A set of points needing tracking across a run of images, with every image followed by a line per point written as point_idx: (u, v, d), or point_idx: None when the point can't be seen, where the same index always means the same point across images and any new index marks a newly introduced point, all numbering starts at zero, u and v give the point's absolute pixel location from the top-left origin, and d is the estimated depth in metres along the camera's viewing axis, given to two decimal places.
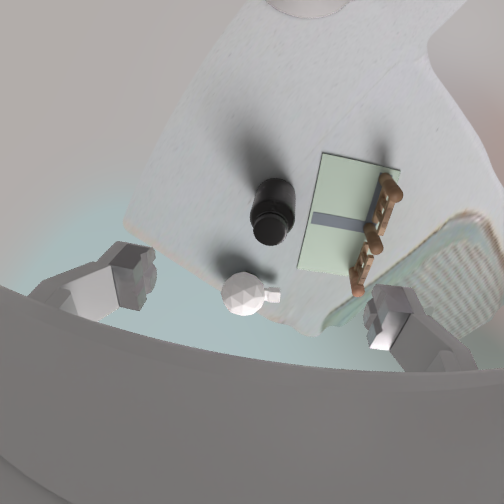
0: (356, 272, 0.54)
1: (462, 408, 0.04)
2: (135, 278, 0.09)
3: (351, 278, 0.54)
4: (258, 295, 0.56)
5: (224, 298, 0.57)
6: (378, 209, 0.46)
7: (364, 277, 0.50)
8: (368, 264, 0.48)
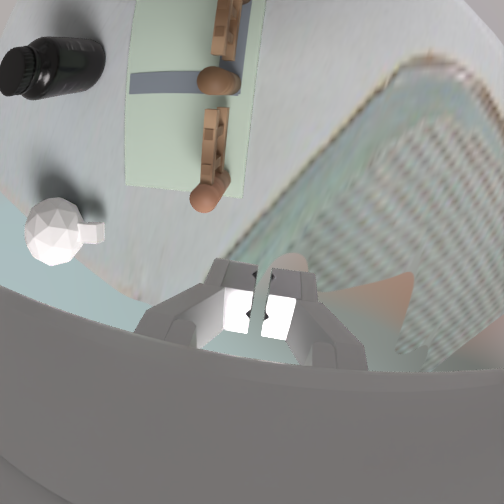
0: None
1: (462, 408, 0.04)
2: (252, 300, 0.09)
3: None
4: (56, 225, 0.28)
5: None
6: None
7: (209, 161, 0.23)
8: (208, 126, 0.22)
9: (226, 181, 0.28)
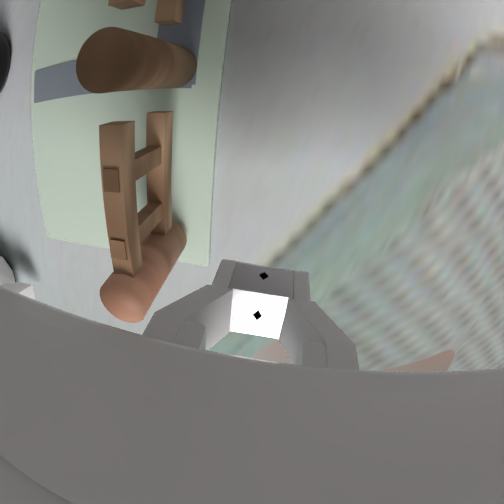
0: (152, 234, 0.15)
1: (462, 408, 0.04)
2: (259, 301, 0.09)
3: None
4: None
5: None
6: None
7: (120, 234, 0.11)
8: (108, 162, 0.09)
9: (174, 249, 0.15)
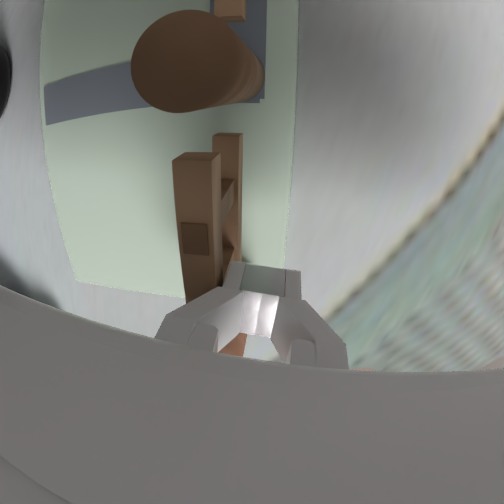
0: None
1: (462, 408, 0.04)
2: (270, 303, 0.09)
3: None
4: None
5: None
6: None
7: None
8: (190, 214, 0.07)
9: None
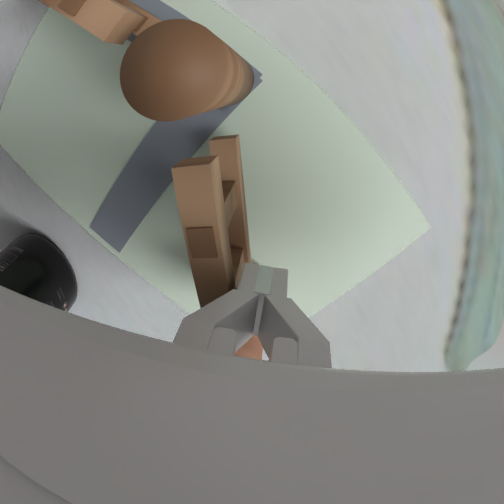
0: None
1: (462, 408, 0.04)
2: None
3: None
4: None
5: None
6: None
7: None
8: (195, 219, 0.07)
9: None
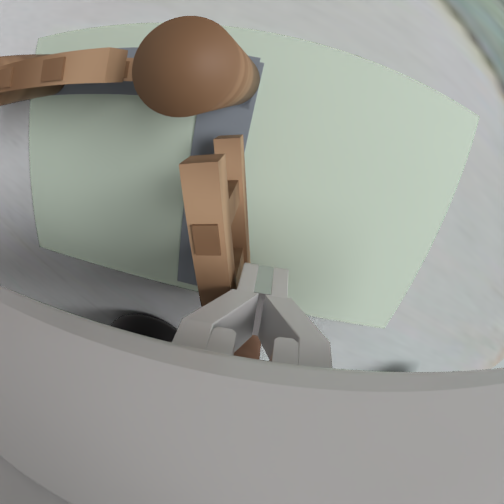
0: None
1: (462, 408, 0.04)
2: None
3: None
4: None
5: None
6: None
7: None
8: (200, 216, 0.08)
9: None
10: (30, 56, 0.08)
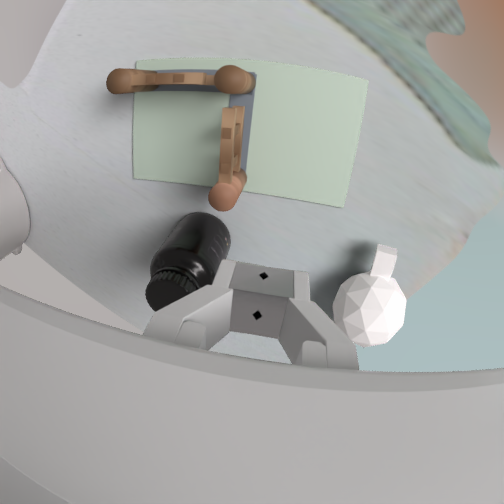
0: None
1: (462, 408, 0.04)
2: (259, 301, 0.09)
3: None
4: (362, 297, 0.28)
5: None
6: None
7: (227, 160, 0.23)
8: (226, 125, 0.22)
9: (243, 180, 0.28)
10: (144, 70, 0.23)
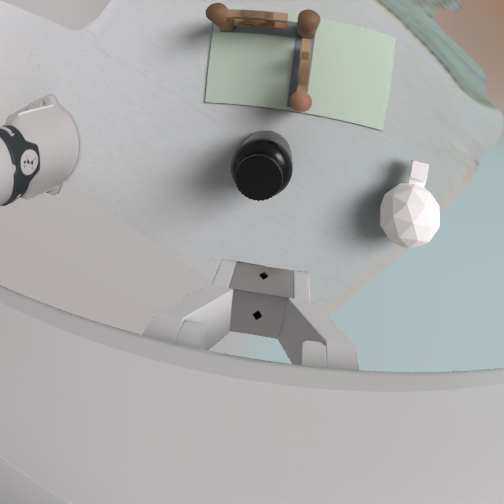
0: None
1: (462, 408, 0.04)
2: (259, 301, 0.09)
3: None
4: (407, 196, 0.32)
5: (405, 245, 0.35)
6: (265, 24, 0.27)
7: (305, 74, 0.27)
8: (305, 49, 0.25)
9: None
10: None
